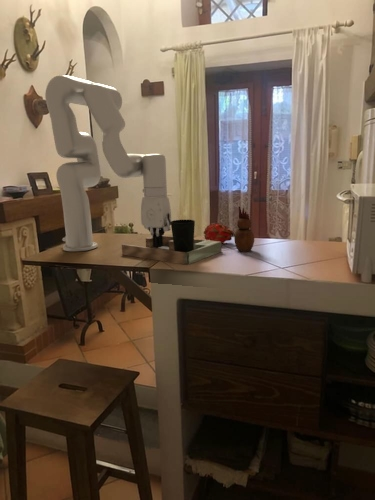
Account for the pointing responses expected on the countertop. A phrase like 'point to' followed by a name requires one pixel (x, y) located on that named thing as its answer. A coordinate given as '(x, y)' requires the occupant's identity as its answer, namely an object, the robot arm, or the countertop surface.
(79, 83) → the robot arm
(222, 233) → the dragon fruit
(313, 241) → the countertop surface
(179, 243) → the cup
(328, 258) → the countertop surface
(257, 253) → the countertop surface
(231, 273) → the countertop surface
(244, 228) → the wooden figurine
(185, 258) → the open wooden tray box
